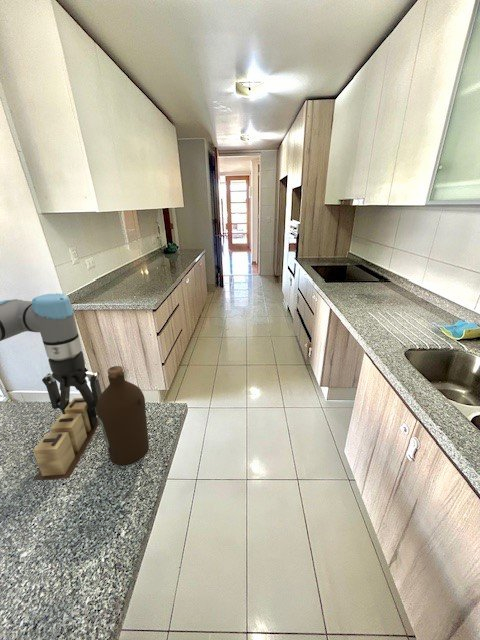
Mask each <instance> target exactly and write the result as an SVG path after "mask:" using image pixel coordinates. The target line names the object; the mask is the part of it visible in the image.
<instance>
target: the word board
mask: <svg viewBox="0 0 480 640" xmlns="http://www.w3.org/2000/svg"><path fill="white" fill-rule="evenodd" d="M97 421H98V422H97V423H96V425H95V427H94V428H91V430H90V432H86V434H87V438H86V439H85V441H84V443H83V444H82V446H81V448H80V450H79V451H77V452H74V454H75V458H74V459H73V461H72V463H71V465H70V466H69V468H68V470H67V471H66V473H65V474H63V475H49V476H42V474H41V471H40V470H39V471H38V472H37V474H36V475H35V477H34V478H33V480H32V481H35V482H37V481H48V480H49V481H50V480H62V479H70V478H71V476H72V475H73V472H74V471H75V469H76V468H77V465H78V463H79V462H80V460H81V458H82V457H83V455H84V453H85V451H86V450H87V448H88V446H89V444H90V442H91V440H92V438H93V436H94V435H95V434H96V431H97V430H98V428H99V426H100V422H99V418H98V416H97Z"/></svg>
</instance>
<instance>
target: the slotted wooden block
mask: <svg viewBox="0 0 480 640" xmlns="http://www.w3.org/2000/svg"><path fill="white" fill-rule="evenodd" d="M69 402H70V403H69V405H68V406H67V407H66V409H65V414H79V413H81V415H82V418H83V422H84V426H85V430H86V432H90V430H91V426H90V422H89V418H88V414H87V408H88V405H87V404H86V402H85V400H84V399H83V397H73V398H72V399H71V401H69Z"/></svg>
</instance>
